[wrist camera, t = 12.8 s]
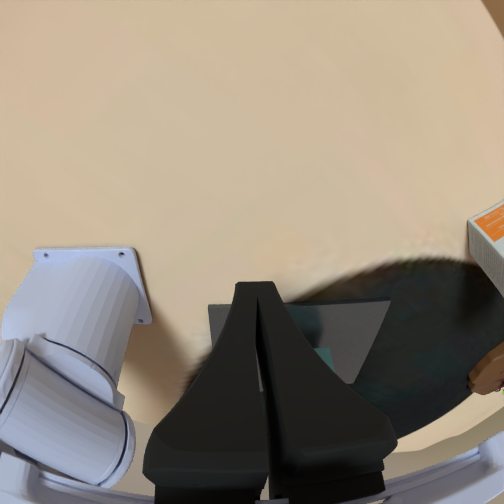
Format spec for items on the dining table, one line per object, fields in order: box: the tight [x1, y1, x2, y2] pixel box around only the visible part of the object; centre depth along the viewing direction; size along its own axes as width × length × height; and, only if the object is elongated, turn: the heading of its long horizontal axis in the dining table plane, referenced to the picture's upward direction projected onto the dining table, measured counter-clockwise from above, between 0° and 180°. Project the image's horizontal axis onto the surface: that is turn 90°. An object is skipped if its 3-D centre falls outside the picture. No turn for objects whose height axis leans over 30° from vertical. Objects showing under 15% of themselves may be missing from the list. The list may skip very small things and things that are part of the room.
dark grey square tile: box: [208, 298, 391, 391], centre depth 27 cm, size 16×14×7 cm
